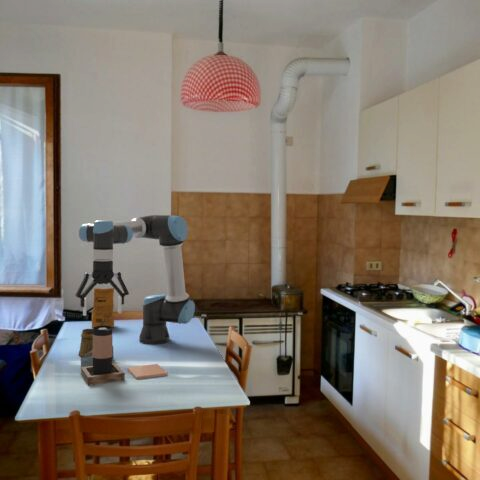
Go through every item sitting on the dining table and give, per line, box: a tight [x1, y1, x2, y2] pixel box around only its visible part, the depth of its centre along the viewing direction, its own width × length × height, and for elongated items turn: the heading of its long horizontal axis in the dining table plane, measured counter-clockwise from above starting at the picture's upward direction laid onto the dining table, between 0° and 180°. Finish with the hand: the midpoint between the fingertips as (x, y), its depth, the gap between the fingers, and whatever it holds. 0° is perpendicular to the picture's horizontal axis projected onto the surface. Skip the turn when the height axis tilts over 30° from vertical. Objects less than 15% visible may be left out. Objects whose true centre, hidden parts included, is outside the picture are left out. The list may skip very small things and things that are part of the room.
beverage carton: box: [80, 345, 114, 368], centre depth 227 cm, size 8×19×7 cm, turn 174°
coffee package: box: [91, 287, 115, 329], centre depth 295 cm, size 10×12×22 cm
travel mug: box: [92, 326, 114, 376], centre depth 210 cm, size 8×8×20 cm
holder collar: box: [80, 362, 126, 386], centre depth 210 cm, size 14×14×3 cm
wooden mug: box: [78, 316, 109, 357], centre depth 242 cm, size 9×14×18 cm, turn 93°
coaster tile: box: [126, 363, 169, 380], centre depth 218 cm, size 13×13×1 cm
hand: (102, 314), depth 208 cm, fingers open, 13 cm apart
